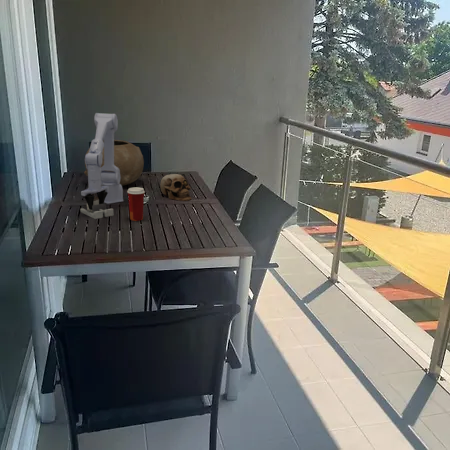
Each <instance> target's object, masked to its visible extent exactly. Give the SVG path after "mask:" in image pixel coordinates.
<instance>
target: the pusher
mask: <svg viewBox="0 0 450 450" xmlns="http://www.w3.org/2000/svg"><path fill="white" fill-rule="evenodd" d="M106 209H107V203H104V204H98V205H92V212H96V211H103V215H104V213H105V214H108V212H106V211H104V210H106Z"/></svg>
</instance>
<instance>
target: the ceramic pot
mask: <svg viewBox="0 0 450 450" xmlns="http://www.w3.org/2000/svg"><path fill="white" fill-rule="evenodd" d="M103 142H104V139H103ZM89 150H90V147H88V150H87V151H86V153H85V156H86V154H88V153H89ZM102 155H103V157H102V165H101V167H102V166H104V148H103V152H102ZM144 163H145V160H144V155H143V154H142V151H141V148H140V147H139V146H136V145H135V144H133V143H131V142H129V141H127V140H122V139H114V165H115V166H116V167H118V168H119V170H120V184H121V186H122V187H124V186H128V185H130V184H132V183H134V182H136V181H137V180H138V179H140V177H141V175H142V173H143V172H144ZM84 167H85V171H84V173H83V174H84V175H85V176H86V177H88V170H87V168H86V164H85V163H84ZM112 172H114V171H112Z"/></svg>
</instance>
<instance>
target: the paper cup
mask: <svg viewBox="0 0 450 450" xmlns="http://www.w3.org/2000/svg"><path fill="white" fill-rule="evenodd" d="M126 192H127V196H128V209H129V219H130V221H133V222H140V221H143V219H144V203H145V192H146V191H145V190H144V188H143V187H129V188H128V189H127V191H126Z"/></svg>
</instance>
